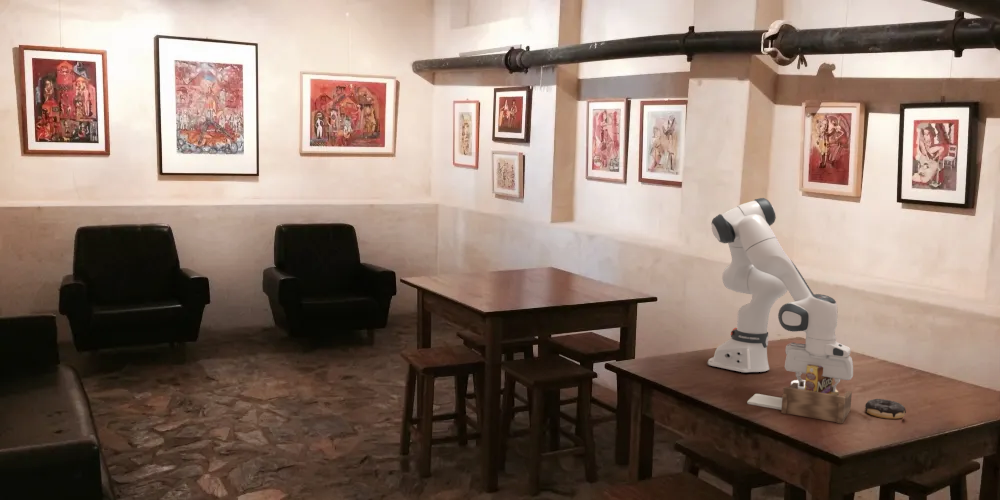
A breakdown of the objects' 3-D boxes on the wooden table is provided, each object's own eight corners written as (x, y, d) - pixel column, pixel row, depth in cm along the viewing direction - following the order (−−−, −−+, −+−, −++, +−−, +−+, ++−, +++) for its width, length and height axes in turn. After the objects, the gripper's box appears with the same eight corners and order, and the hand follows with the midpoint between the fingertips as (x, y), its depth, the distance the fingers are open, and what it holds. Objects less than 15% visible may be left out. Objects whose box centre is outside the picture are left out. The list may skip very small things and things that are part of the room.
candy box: (813, 415, 257) (817, 367, 256) (801, 411, 261) (805, 364, 259) (831, 410, 262) (834, 364, 260) (819, 407, 266) (822, 361, 264)
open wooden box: (781, 413, 258) (783, 388, 257) (792, 400, 273) (793, 376, 272) (842, 423, 249) (844, 398, 248) (850, 409, 264) (852, 385, 263)
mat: (747, 403, 267) (747, 401, 267) (755, 395, 277) (755, 393, 277) (782, 409, 262) (782, 407, 262) (789, 401, 271) (789, 399, 271)
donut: (864, 407, 268) (865, 395, 267) (904, 412, 263) (905, 400, 263) (865, 416, 258) (866, 404, 257) (906, 422, 253) (908, 410, 253)
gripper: (783, 343, 262) (780, 385, 263) (852, 352, 251) (849, 396, 253) (788, 339, 267) (785, 381, 269) (855, 349, 257) (852, 392, 258)
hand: (816, 388), depth 261 cm, fingers open, 8 cm apart
